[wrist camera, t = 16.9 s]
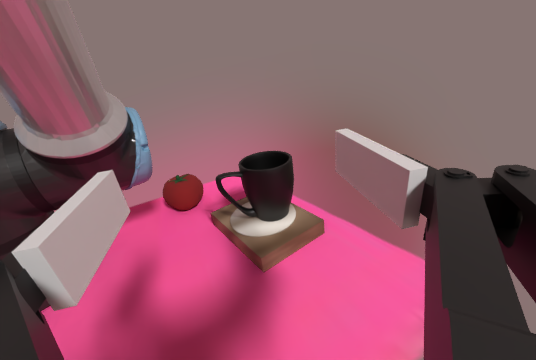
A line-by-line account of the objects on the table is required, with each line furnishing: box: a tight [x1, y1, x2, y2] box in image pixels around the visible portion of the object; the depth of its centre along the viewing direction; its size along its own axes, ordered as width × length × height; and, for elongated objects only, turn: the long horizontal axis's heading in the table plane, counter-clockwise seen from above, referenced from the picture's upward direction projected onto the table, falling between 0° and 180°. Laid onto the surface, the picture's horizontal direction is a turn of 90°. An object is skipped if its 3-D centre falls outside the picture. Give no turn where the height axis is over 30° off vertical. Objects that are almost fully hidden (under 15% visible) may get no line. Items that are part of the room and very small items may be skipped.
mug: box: [216, 151, 294, 222], centre depth 40 cm, size 8×12×10 cm
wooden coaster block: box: [211, 197, 324, 272], centre depth 43 cm, size 16×12×3 cm
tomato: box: [163, 174, 203, 210], centre depth 53 cm, size 8×8×7 cm
